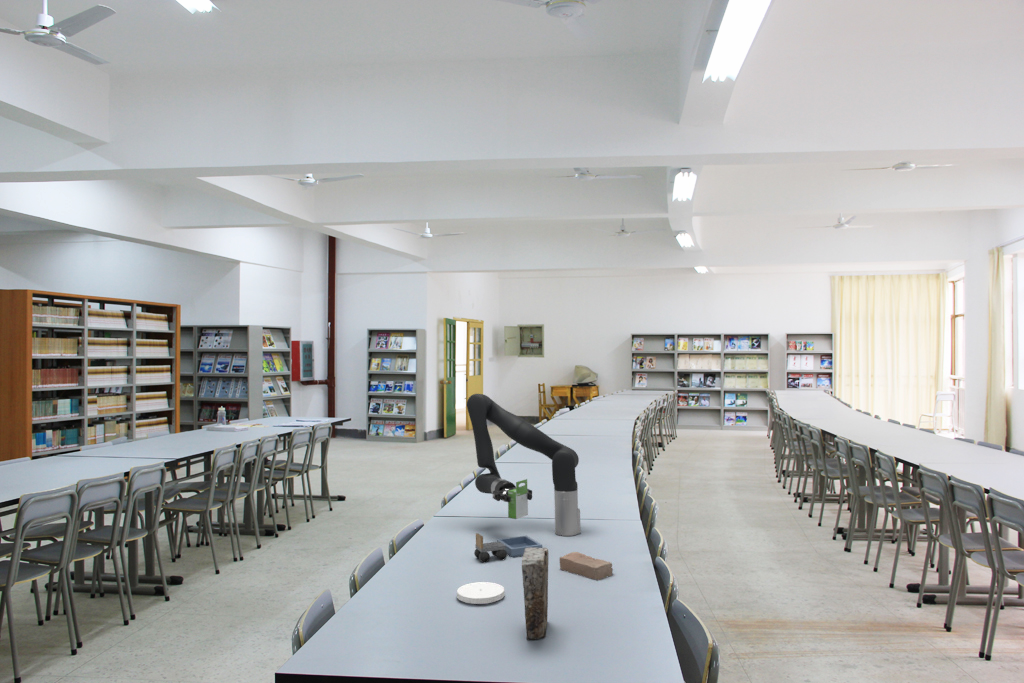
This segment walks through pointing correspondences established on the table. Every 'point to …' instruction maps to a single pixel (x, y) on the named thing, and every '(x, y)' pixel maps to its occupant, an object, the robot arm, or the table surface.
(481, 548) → the trolley
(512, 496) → the ink box
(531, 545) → the tray
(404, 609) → the table surface
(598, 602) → the table surface
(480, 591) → the plastic lid
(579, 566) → the brick
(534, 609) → the stone block
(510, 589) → the table surface
